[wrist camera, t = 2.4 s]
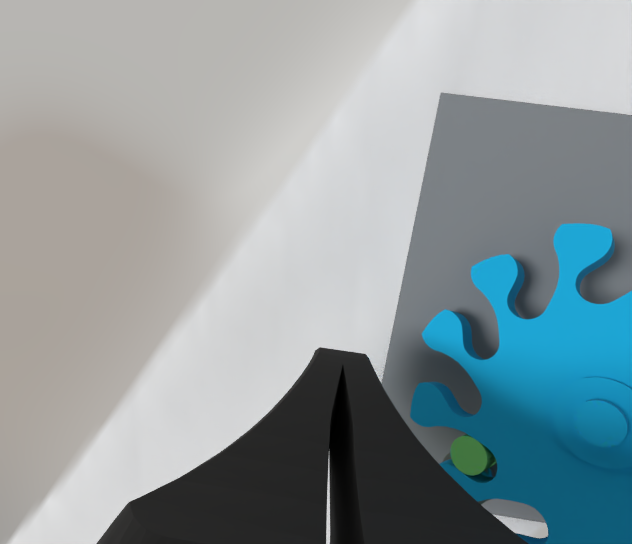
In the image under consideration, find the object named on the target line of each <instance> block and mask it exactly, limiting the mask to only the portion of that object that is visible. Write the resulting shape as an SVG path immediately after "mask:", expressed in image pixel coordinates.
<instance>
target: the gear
mask: <svg viewBox="0 0 632 544" xmlns="http://www.w3.org/2000/svg"><path fill="white" fill-rule="evenodd" d="M553 243H554V248H555V251H556V253H557V256H558V261H559V279H558V284H557V288H556V290H555V292H554V295H553V297H552V299H551V301H550V303H549V304H548V306H547V308H546V310H545V311H544V312H543V313H542V314H541V315H540V316H538V317H536V318H534V319H523V318H522V317H520V316H519V314H518V313H517V311H516V309H515V299H516V296H517V294H518V292H519V291H520V289H521V287H522V285H523V282H524V277H525V274H524V270H523V267H522V265H521V264H520V263H519V262H518V261H517V260H516V259H515V258H513V257H512V256H511V255H509V254H504V255H498V256H494V257H491V258H488V259H486V260H483V261H481V262H479V263H477V264H475V265H473V266H472V268H471V278H472V281H473V283H474V285H475V286H476V287H477V288H478V289H479V290H480V291H481V292H482V293H483V294H484V295H485V296H486V297H487V299H488V300H489V302H490V303H491V305H492V307H493V309H494V311H495V314H496V317H497V322H498V329H499V348H498V351H497V352H496V354H495V355H494V356H493V357H491V358H489V359H483V358H481V357H480V356H478V355H477V354H476V352H475V351H474V348H473V345H472V331H471V326H470V323H469V322H468V320H467V319H466V318H465V317H464V316H463V315H461V314H460V313H457V312H454V311H450V310H446V309H445V310H443V311H442V312H440V313H438V314H437V315H436V316H435V317H434V318H433V319H432V320H431V321H430V323H429V324H428V325H427V327H426V328H425V329H424V331H423V332H422V337H423V340H424V341H425V343H426V344H427V345H428V346H429V347H430V348H432V349H433V350H436V351H439V352H442V353H444V354H446V355H448V356H450V357H451V358H453V359H454V360H455V361H457V362H458V363H459V364H460V365H461V366H462V367H463V368H464V369H465V370H466V371H467V373H468V374H469V376H470V377H471V378H472V380H473V382H474V383H475V385H476V387H477V388H478V390H479V392H480V394H481V398H482V404H481V408H480V410H479V411H478V412H477V413H476V414H475V415H474V414H470V413H467V412H466V411H464V410H463V409H462V408H461V407H460V405H459V404H458V402H457V400H456V398H455V397H454V395H453V393H452V392H451V390H450V389H449V388H448V387H447V386H445V385H444V384H442V383H439V382H423V383H419V384H418V386H417V387H416V389H415V392H414V395H413V398H412V404H411V412H410V417H411V419H412V420H413V421H414V422H415V423H417V424H418V425H420V426H423V427H434V426H444V427H450V428H454V429H457V430H460V431H462V432H464V433H466V434H467V435H464V436H461V437H458V438H457V439H455V440H454V442H453V443H452V445H451V449H450V453H448V454H447V455H446V456H445V458H444V459H443V461H442V463H440V464H439V465H440V466H441V467H442V468H443V469H444V470H445V471H446V472H447V473H448V474H449V475H450V476H451V477H452V478H453V479H454V480H455V481H456V482H457V483H458V484H459V485H460V486H461V487H462V488H463V489H464V490H465V491H466V492H467V493H468V494H470V495H471V496H472V497H473V498H474V499H475V500H476V501H477V502H478V503H480V504H483V503H485V502H486V501H488V500H491V499H503V500H510V501H514V502H519V503H524V504H527V505H530V506H531V507H533V508H535V509H536V510H537V511H538V512H539V513H540V514H541V515H542V516H543V518H544V520H545V521H546V524H547V527H548V537H546V538H540V539H539V538H533V537H529V536H525V535H522V534H516V533H515V534H516V535H518V536H519V537H520V538H522V539H523V540H524V541H526V542H527V543H529V544H632V291H630V292H629V293H627V294H625V295H623V296H622V297H620V298H618V299H616V300H614V301H612V302H610V303H606V304H594V303H590V302H588V301H586V300H584V299H583V297H582V295H581V293H580V284H581V282H582V280H583V278H584V277H585V276H586V275H587V274H589V273H590V272H592V271H594V270H595V269H597V268H599V267H600V266H602V265H603V264H605V263H606V262H607V261H608V260H609V259H610V258H611V256H612V254H613V253H614V248H615V241H614V239H613V236H612V233H611V230H610V229H609V228H606V227H603V226H600V225H594V224H582V223H573V224H561V225H560V227H559V228H558V229H557V231H556V233H555V235H554V240H553Z"/></svg>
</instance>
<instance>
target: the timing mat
mask: <svg viewBox="0 0 632 544" xmlns="http://www.w3.org/2000/svg"><path fill="white" fill-rule="evenodd" d="M573 223H582V224H594V225H600V226H603V227H606V228H609V229H610V230H611V233H612V236H613V239H614V241H615V248H614V253H613V254H612V256H611V258H610V259H609V260H608V261H607V262H606V263H605V264H603V265H602V266H600V267H599V268H597V269H595V270H594V271H592V272H590V273H589V274H587V275H586V276H585V277H584V278H583V280H582V282H581V284H580V293H581V295H582V297H583V299H584V300H586V301H588V302H590V303H594V304H606V303H610V302H612V301H614V300H616V299H618V298H620V297H622V296H623V295H625V294H627V293H629V292H630V291H632V115H626V114H617V113H609V112H600V111H592V110H583V109H575V108H566V107H558V106H549V105H541V104H532V103H524V102H515V101H507V100H498V99H490V98H481V97H473V96H464V95H456V94H448V93H441V95H440V99H439V104H438V109H437V114H436V119H435V124H434V129H433V134H432V139H431V144H430V149H429V153H428V158H427V163H426V168H425V173H424V178H423V183H422V188H421V193H420V198H419V203H418V207H417V212H416V217H415V222H414V227H413V232H412V237H411V242H410V247H409V252H408V256H407V261H406V266H405V271H404V276H403V281H402V286H401V291H400V296H399V301H398V306H397V310H396V315H395V320H394V325H393V330H392V335H391V340H390V345H389V350H388V355H387V360H386V364H385V369H384V374H383V379H382V386H383V388H384V390H385V391H386V393H387V395H388V396H389V398H390V400H391V401H392V403H393V404H394V406H395V408H396V409H397V411H398V412H399V414H400V415H401V417H402V418H403V420H404V421H405V423H406V424H407V425H408V427H409V428H410V430H411V431H412V432H413V434H414V435H415V436H416V438H417V439H418V440H419V441H420V443H421V444H422V445H423V446H424V447H425V449H426V450H427V451H428V452H429V453H430V454H431V456H432V457H433V458H434V459H435V460H436V461H437V462H438V463H439V464H440V463H442V461H443V459H444V458H445V456H446V455H447V454H448V453H450V449H451V445H452V443H453V442H454V440H455V439H457V438H458V437H461V436H464V435H467V434H466V433H464V432H462V431H460V430H457V429H454V428H450V427H444V426H434V427H423V426H420V425H418V424H417V423H415V422H414V421H413V420H412V419H411V417H410V412H411V404H412V398H413V395H414V392H415V389H416V387H417V386H418V384H419V383H423V382H439V383H442V384H444V385H445V386H447V387H448V388H449V389H450V390H451V392H452V393H453V395H454V397H455V398H456V400H457V402H458V404H459V405H460V407H461V408H462V409H463V410H464V411H466V412H467V413H470V414H474V415H475V414H476V413H477V412H478V411H479V410H480V408H481V404H482V398H481V394H480V392H479V390H478V388H477V387H476V385H475V383H474V382H473V380H472V378H471V377H470V376H469V374H468V373H467V371H466V370H465V369H464V368H463V367H462V366H461V365H460V364H459V363H458V362H457V361H455V360H454V359H453V358H451V357H450V356H448V355H446V354H444V353H442V352H439V351H436V350H433V349H432V348H430V347H429V346H428V345H427V344H426V343H425V341H424V340H423V337H422V332H423V331H424V329H425V328H426V327H427V325H428V324H429V323H430V321H431V320H432V319H433V318H434V317H435V316H436V315H437V314H438V313H440V312H442V311H443V310H445V309H446V310H450V311H454V312H457V313H460V314H461V315H463V316H464V317H465V318H466V319H467V320H468V322H469V323H470V326H471V331H472V345H473V348H474V351H475V352H476V354H477V355H478V356H480V357H481V358H483V359H489V358H491V357H493V356H494V355H495V354H496V352H497V351H498V348H499V329H498V322H497V317H496V314H495V311H494V309H493V307H492V305H491V303H490V302H489V300H488V299H487V297H486V296H485V295H484V294H483V293H482V292H481V291H480V290H479V289H478V288H477V287H476V286H475V285H474V283H473V281H472V278H471V268H472V266H473V265H475V264H477V263H479V262H481V261H483V260H486V259H488V258H491V257H494V256H498V255H504V254H509V255H511V256H512V257H513V258H515V259H516V260H517V261H518V262H519V263H520V264H521V265H522V267H523V270H524V274H525V277H524V282H523V285H522V287H521V289H520V291H519V292H518V294H517V296H516V299H515V309H516V311H517V313H518V314H519V316H520V317H522V318H523V319H534V318H536V317H538V316H540V315H541V314H542V313H543V312H544V311H545V310H546V308H547V306H548V304H549V303H550V301H551V299H552V297H553V295H554V292H555V290H556V288H557V284H558V279H559V261H558V256H557V253H556V251H555V248H554V243H553V240H554V235H555V233H556V231H557V229H558V228H559V227H560V225H561V224H573ZM481 505H482V506H483V507H484V508H485V509H486V510H487V511H489V512H490V513H491V514H494V515H500V516H507V517H513V518H519V519H525V520H532V521H538V522H544V523H546V521H545V520H544V518H543V516H542V515H541V514H540V513H539V512H538V511H537V510H536V509H535V508H533V507H531V506H530V505H527V504H524V503H519V502H514V501H510V500H503V499H491V500H488V501H486V502H485V503H483V504H481Z"/></svg>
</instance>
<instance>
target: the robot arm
mask: <svg viewBox="0 0 632 544" xmlns="http://www.w3.org/2000/svg"><path fill="white" fill-rule="evenodd" d="M329 455H330V544H529V543H527V542H526V541H524V540H523V539H522V538H520V537H519V536H518V535H516V534H515V533H514V532H513V531H511V530H510V529H509V528H508V527H507V526H505V525H504V524H503V523H502V522H501V521H499V520H498V519H497V518H496V517H495V516H493V515H492V514H491V513H490V512H489V511H487V510H486V509H485V508H484V507H483V506H482V505H481V504H480V503H478V502H477V501H476V500H475V499H474V498H473V497H472V496H471V495H470V494H468V493H467V492H466V491H465V490H464V489H463V488H462V487H461V486H460V485H459V484H458V483H457V482H456V481H455V480H454V479H453V478H452V477H451V476H450V475H449V474H448V473H447V472H446V471H445V470H444V469H443V468H442V467H441V466H440V465H439V463H438V462H437V461H436V460H435V459H434V458H433V457H432V456H431V454H430V453H429V452H428V451H427V450H426V449H425V447H424V446H423V445H422V444H421V443H420V441H419V440H418V439H417V438H416V436H415V435H414V434H413V432H412V431H411V430H410V428H409V427H408V425H407V424H406V423H405V421H404V420H403V418H402V417H401V415H400V414H399V412H398V411H397V409H396V408H395V406H394V404H393V403H392V401H391V400H390V398H389V396H388V395H387V393H386V391H385V390H384V388H383V386H382V384H381V382H380V381H379V379H378V377H377V375H376V373H375V371H374V369H373V367H372V365H371V362H370V360H369V358H368V357H367V355H366V354H361V353H354V352H348V351H341V350H334V349H327V348H319V349H317V350H315V353H314V355H313V357H312V359H311V361H310V363H309V364H308V366H307V367H306V369H305V370H304V372H303V373H302V375H301V376H300V377H299V378H298V380H297V381H296V382H295V384H294V385H293V386H292V388H291V389H290V390H289V391H288V392H287V393H286V395H285V396H284V397H283V398H282V399H281V400H280V401H279V402H278V403H277V404H276V405H275V407H274V408H273V409H272V410H271V411H270V412H269V413H268V414H267V415H266V416H264V417H263V418H262V419H261V420H260V421H259V422H258V423H257V424H256V425H255V426H253V427H252V428H251V429H250V430H249V431H248V432H246V433H245V434H244V435H242V436H241V437H240V438H239V439H237V440H236V441H235V442H234V443H232V444H231V445H230V446H228V447H227V448H226V449H224V450H223V451H221V452H220V453H218V454H217V455H215V456H214V457H212V458H211V459H209V460H207V461H206V462H204V463H203V464H201V465H199V466H198V467H196V468H195V469H193V470H192V471H190V472H188V473H187V474H185V475H183V476H182V477H180V478H178V479H176V480H174V481H172V482H170V483H168V484H166V485H164V486H162V487H160V488H158V489H156V490H154V491H152V492H150V493H148V494H146V495H144V496H142V497H140V498H137V499H135V500H133V501H131V502H129V503H128V504H127V505H126V506H125V508H124V509H123V510H122V511H121V513H120V514H119V515H118V516H117V518H116V519H115V520H114V521H113V523H112V524H111V525H110V527H109V528H108V529H107V531H106V532H105V533H104V535H103V536H102V537H101V539H100V540H99V541H98V542H97V544H326V513H327V480H328V457H329Z"/></svg>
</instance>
